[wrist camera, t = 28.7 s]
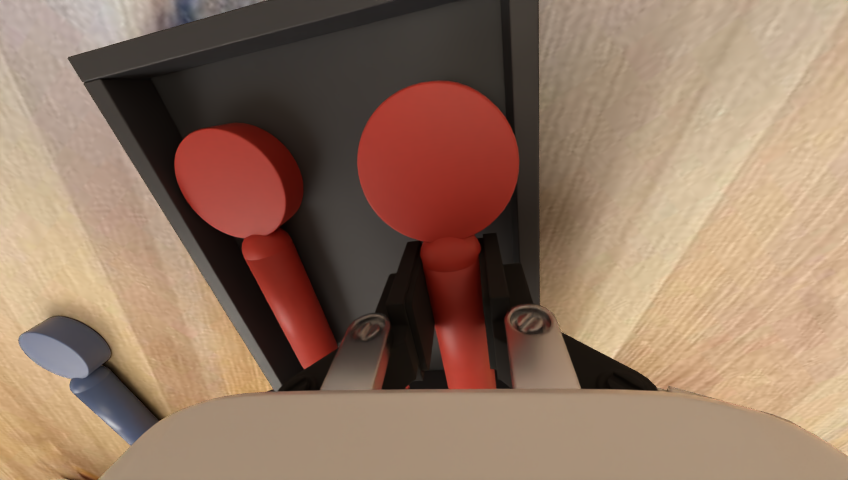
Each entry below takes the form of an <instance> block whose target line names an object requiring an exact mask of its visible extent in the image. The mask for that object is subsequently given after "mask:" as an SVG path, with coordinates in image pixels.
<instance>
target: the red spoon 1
mask: <svg viewBox="0 0 848 480" xmlns="http://www.w3.org/2000/svg"><path fill="white" fill-rule="evenodd" d="M174 168H175V175H176V179H177V183H178V185H179V188H180V190H181V192H182V194H183V196H184V197H185V199H186V201H187V202H188V203H189V205H190V206H191V207H192V209H193V210H194V211H195V212H196V213H197V214H198V215H199V216H200V217H201V218H202V219H203V220H204V221H206V222H207V223H208V224H210V225H211V226H213V227H214V228H216V229H218V230H219V231H221V232H223V233H226V234H228V235H231V236H234V237H238V238H244V240H243V243H242V254H243V256H244V259H245V260H246V262H247V264H248V266H249V268H250V270H251V272H252V274H253V275H254V277H255V279H256V281H257V283H258V285H259V287H260V289H261V290H262V292H263V294H264V296H265V298H266V300H267V302H268V304H269V305H270V307H271V309H272V311H273V313H274V315H275V317H276V319H277V321H278V322H279V324H280V326H281V328H282V330H283V332H284V334H285V336H286V337H287V339H288V341H289V343H290V345H291V347H292V349H293V351H294V352H295V354H296V356H297V358H298V360H299V362H300V364H301V365H302V367H303V368H304V369H306V368H307V367H309V366H311V365H312V364H314V363H315V362H317V361H318V360H320V359H322V358H323V357H325V356H326V355H328V354H329V353H331V352H333V351H334V350H336V349H337V348H338V345H337V342H336V340H335V338H334V335H333V333H332V331H331V329H330V326H329V324H328V322H327V319H326V317H325V315H324V312H323V310H322V308H321V305H320V303H319V301H318V299H317V296H316V294H315V292H314V289H313V287H312V285H311V282H310V280H309V278H308V276H307V273H306V271H305V269H304V266H303V264H302V262H301V259H300V257H299V255H298V252H297V250H296V248H295V246H294V243H293V241H292V239H291V237H290V236H289V234H288V233H287V232H286V231H285V230H283V229H282V228H280V226H281V225H282V224H284V223H285V222H286V221H287V220H289V219H290V218H291V217H292V216H293V215H294V214H295V213H296V212H297V210H298V209H299V207H300V205H301V202H302V198H303V180H302V176H301V172H300V169H299V167H298V165H297V163H296V161H295V159H294V158H293V156H292V155H291V153H290V152H289V150H288V149H287V148H286V147H285V146H284V145H283V144H282V143H281V142H280V141H279V140H278V139H277V138H275V137H274V136H273V135H271V134H270V133H268V132H267V131H265V130H263V129H261V128H259V127H256V126H253V125H250V124H245V123H229V124H223V125H218V126H213V127H208V128H203V129H199V130H196V131H194V132H192V133H190V134H189V135H187V136H186V137H185V138H184V139H183V140H182V142H181V143H180V144H179V146H178V148H177V151H176V154H175V160H174Z"/></svg>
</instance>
